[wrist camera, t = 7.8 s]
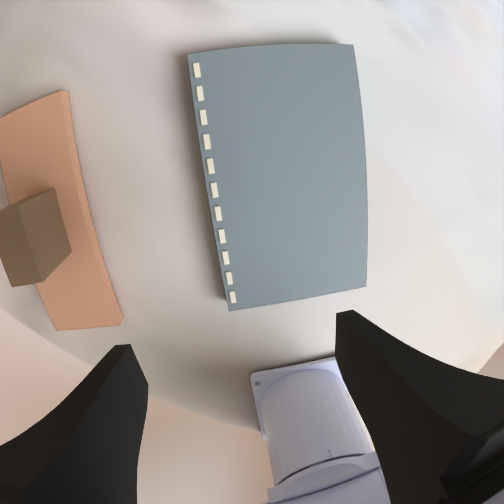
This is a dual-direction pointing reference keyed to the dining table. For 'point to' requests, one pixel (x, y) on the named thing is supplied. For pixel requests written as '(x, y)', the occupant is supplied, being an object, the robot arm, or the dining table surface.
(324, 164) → the board
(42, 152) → the stub
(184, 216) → the dining table surface
